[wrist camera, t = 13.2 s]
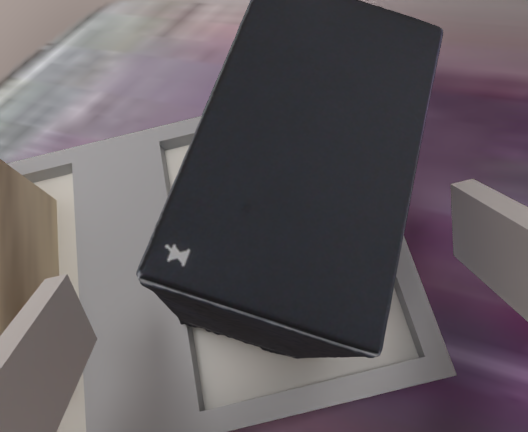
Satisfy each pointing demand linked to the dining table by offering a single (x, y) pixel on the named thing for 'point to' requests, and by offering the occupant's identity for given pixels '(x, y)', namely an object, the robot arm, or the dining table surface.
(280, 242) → the small box
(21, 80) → the dining table surface
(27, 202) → the block
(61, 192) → the tray
